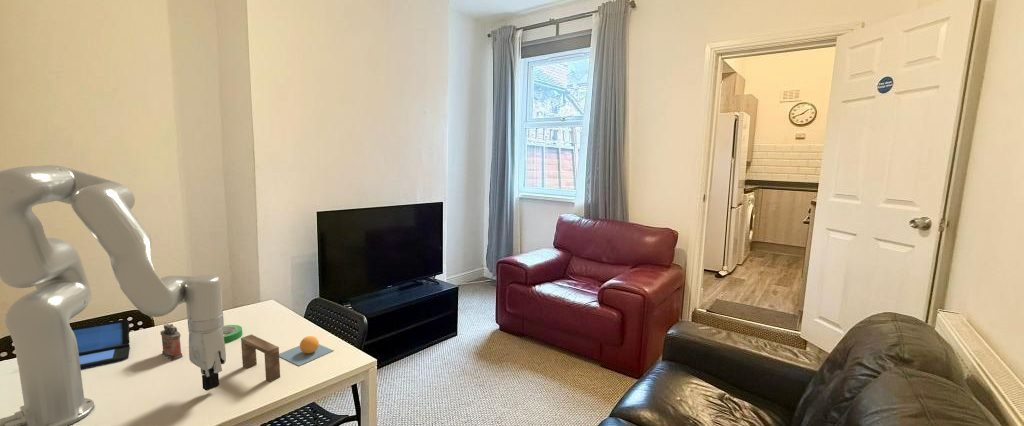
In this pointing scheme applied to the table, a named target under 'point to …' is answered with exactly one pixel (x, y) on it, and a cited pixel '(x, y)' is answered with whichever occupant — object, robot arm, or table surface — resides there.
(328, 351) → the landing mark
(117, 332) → the handheld game console
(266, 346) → the bridge
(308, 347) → the ball
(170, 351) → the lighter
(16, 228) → the robot arm
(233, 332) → the tape roll
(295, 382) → the table surface
